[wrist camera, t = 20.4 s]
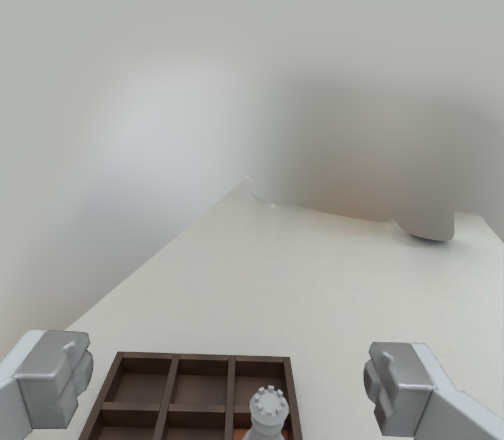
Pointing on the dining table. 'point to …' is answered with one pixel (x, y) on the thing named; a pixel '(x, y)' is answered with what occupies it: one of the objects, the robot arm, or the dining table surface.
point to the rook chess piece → (267, 415)
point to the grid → (187, 397)
